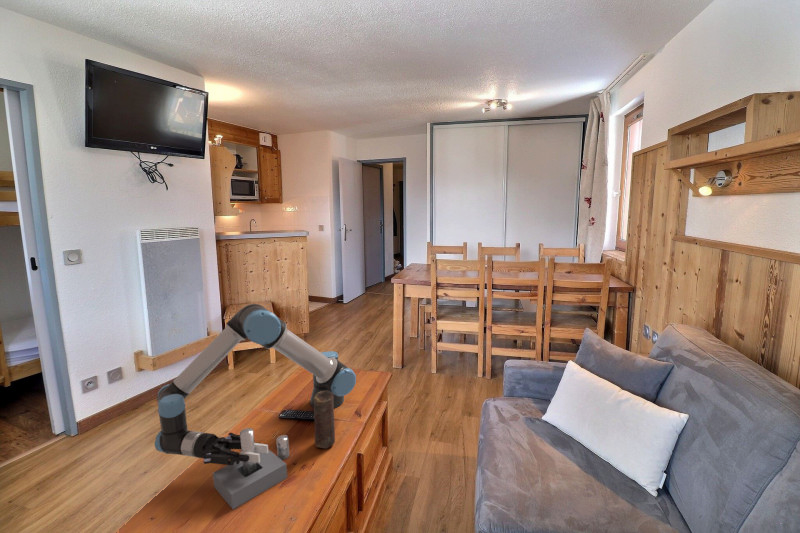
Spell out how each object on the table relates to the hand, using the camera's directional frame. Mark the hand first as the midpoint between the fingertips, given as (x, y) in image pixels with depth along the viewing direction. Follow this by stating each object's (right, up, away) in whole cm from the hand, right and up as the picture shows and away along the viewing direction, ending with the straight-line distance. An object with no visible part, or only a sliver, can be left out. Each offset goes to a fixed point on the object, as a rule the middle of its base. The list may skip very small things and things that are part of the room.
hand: (263, 453), depth 121 cm
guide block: (-5, -11, +3) cm, 12 cm away
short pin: (+2, -9, +16) cm, 18 cm away
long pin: (-5, -10, +3) cm, 11 cm away
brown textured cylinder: (+16, -8, +22) cm, 28 cm away
